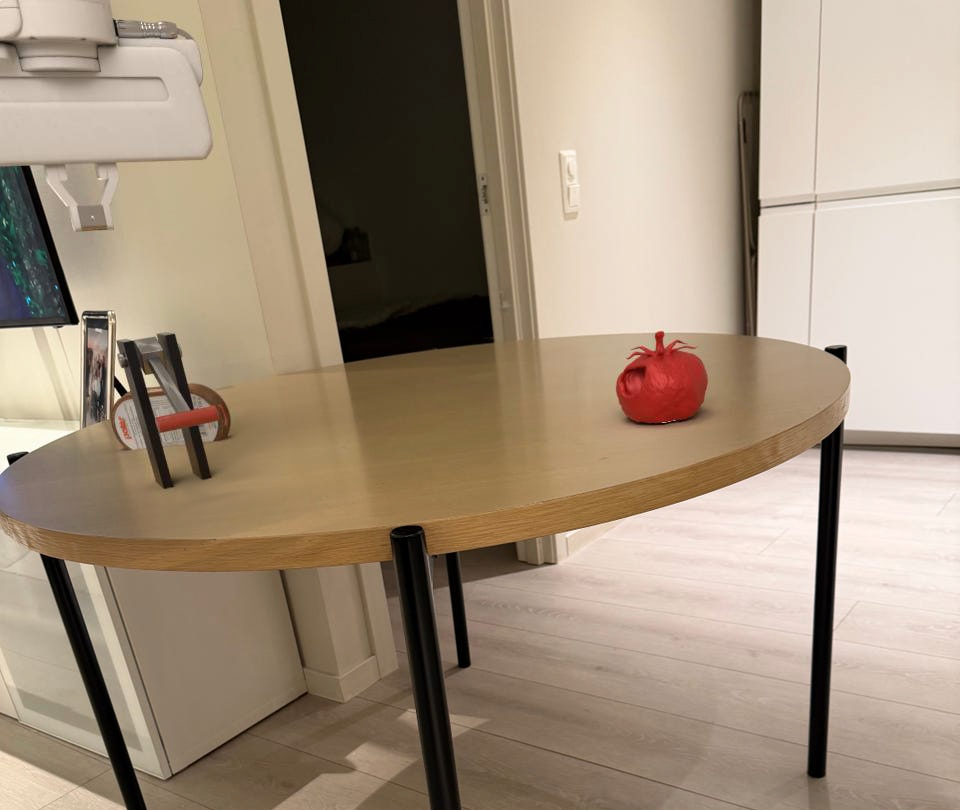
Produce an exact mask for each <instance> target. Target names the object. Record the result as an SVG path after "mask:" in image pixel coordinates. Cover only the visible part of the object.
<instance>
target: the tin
mask: <svg viewBox="0 0 960 810" xmlns="http://www.w3.org/2000/svg"><path fill="white" fill-rule="evenodd" d="M188 386H189V390H190V394H191V398H192V402H193V406H194V409H199V408H204V407H209V406H215V407H216V408H217V411H218V415H219V421H216V422H211V423H206V424H201V425H198V426H199V430H200V434H201V438H202V442H203V443H208V442H209V443H210V442H211V443H212V442H219V441H222V440H223V439H224V438H227V437H228V435H229V433H230V431H231V430H230V429H231V425H232V423H231V422H232V421H231V418H232V417H231V413H230V410H229V408H228V405H227V404H226V401H225V400H224V398H222V396H221V395H220V394H219V393H218V392H217V391H216V390H214V389H212V388H211V387H209V386H207V385H204V384H201V383H195V382H191V383H189V382H188ZM146 388H147V392H148V395H149V399H150V402H151V406H152V410H153V413H154V417H155V418H156V417H159V416H164V415H169V414H174V413H175V411H174V409H173V407H172V406H171V404H170V402H169V400H168V399H167V397H166V395H165V394H164V392H163V390H162V388H161V387H160V385H159V386H150V387H146ZM109 417H110V425H111V429H112V431H113V433H114V435H115V437H116V440H117V441H118V442H119V443H120V445H122V447H123V448H125V450H128V451H134V450H142V449H147V448H146V445H145V441H144V438H143V434H142V431H141V427H140V424H139V420H138V417H137V413H136V409H135V406H134V402H133V399H132V395H131V392H130V390H129V391H127V392H126V393H125V394H123V395H122V396H121V397H120V398H118V399H117V400H116V401H115V403H114V404H113V406H112V408H111V411H110V416H109ZM158 432H159V431H158ZM159 435H160V439H161V443H162V446H163V447H172V446H180V445H186V444H185V441H184V437H183V433H182V429H177V430H173V431H168V432H163V433H160V432H159Z"/></svg>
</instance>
